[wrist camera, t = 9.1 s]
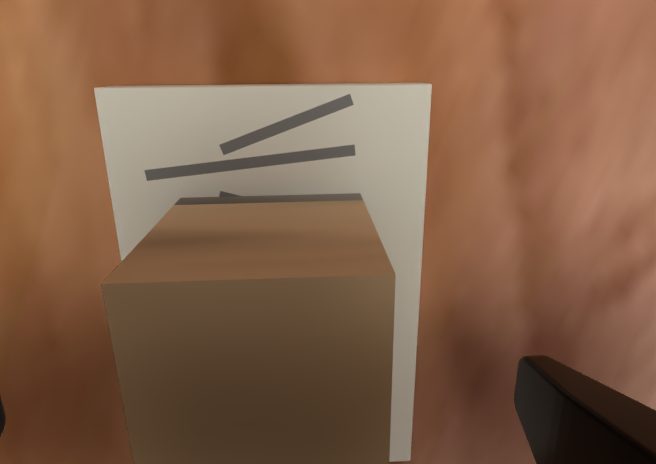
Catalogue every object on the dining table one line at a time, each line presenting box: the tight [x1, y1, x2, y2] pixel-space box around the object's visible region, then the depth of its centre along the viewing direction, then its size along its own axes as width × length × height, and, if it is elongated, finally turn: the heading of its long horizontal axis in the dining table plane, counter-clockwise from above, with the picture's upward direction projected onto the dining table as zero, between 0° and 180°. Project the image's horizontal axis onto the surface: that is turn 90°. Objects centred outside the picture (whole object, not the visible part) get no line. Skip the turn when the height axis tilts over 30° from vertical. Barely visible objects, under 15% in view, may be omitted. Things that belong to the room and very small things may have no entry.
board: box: [94, 83, 432, 462], centre depth 12 cm, size 10×7×1 cm
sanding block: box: [101, 193, 396, 464], centre depth 10 cm, size 5×4×4 cm
